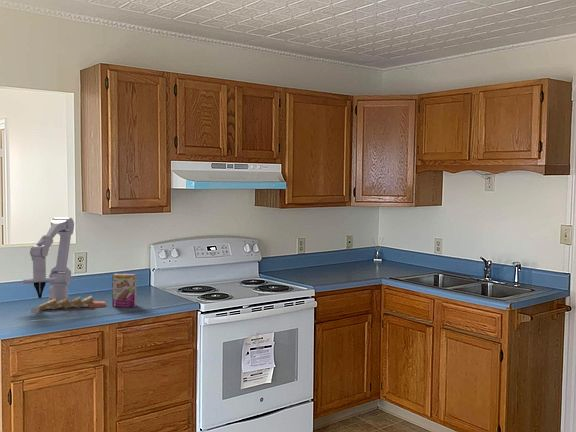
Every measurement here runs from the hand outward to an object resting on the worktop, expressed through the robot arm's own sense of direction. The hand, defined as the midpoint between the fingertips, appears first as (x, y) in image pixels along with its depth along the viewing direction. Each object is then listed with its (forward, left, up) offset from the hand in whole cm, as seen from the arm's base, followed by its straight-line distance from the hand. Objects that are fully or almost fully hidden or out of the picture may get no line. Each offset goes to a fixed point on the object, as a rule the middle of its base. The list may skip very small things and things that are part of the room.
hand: (40, 297), depth 284 cm
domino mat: (+7, +8, -6) cm, 12 cm away
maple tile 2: (+4, +4, -5) cm, 7 cm away
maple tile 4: (+10, +13, -5) cm, 18 cm away
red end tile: (+13, +18, -4) cm, 23 cm away
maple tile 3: (+7, +9, -5) cm, 12 cm away
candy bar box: (+26, +30, -6) cm, 40 cm away
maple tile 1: (0, 0, -5) cm, 5 cm away
